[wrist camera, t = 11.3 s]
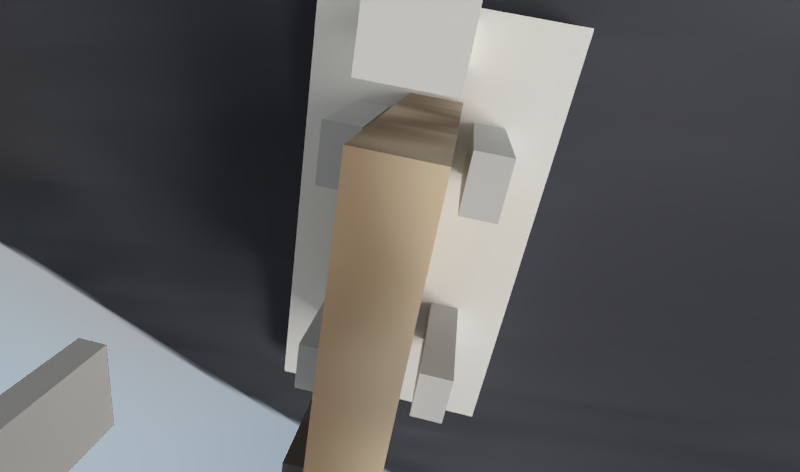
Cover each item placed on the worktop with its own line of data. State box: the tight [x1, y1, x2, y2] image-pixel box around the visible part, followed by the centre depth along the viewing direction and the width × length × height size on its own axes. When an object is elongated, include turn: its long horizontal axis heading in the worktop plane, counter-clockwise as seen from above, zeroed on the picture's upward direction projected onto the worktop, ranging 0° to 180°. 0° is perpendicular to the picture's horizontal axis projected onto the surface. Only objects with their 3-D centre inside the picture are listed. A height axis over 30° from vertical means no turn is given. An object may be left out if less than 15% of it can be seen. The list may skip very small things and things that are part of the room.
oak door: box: [282, 93, 463, 472], centre depth 19 cm, size 4×14×12 cm, turn 170°
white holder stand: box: [284, 0, 594, 424], centre depth 20 cm, size 12×22×14 cm, turn 170°
